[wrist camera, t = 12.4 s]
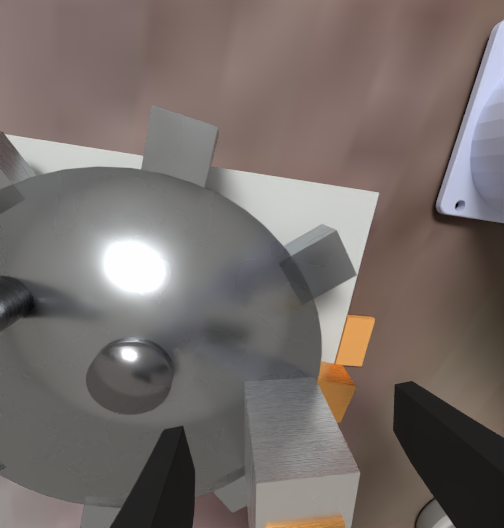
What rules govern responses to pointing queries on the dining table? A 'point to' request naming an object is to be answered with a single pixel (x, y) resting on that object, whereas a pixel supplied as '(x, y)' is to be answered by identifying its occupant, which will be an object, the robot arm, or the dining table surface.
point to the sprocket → (147, 319)
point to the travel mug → (433, 517)
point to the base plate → (271, 216)
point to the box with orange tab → (295, 458)
